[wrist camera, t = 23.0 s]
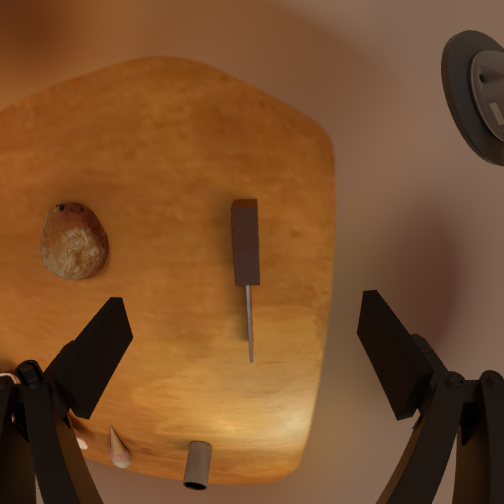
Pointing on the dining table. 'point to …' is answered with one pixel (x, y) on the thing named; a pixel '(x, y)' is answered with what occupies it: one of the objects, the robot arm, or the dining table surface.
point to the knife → (246, 252)
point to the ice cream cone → (118, 452)
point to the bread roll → (73, 242)
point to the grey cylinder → (197, 466)
